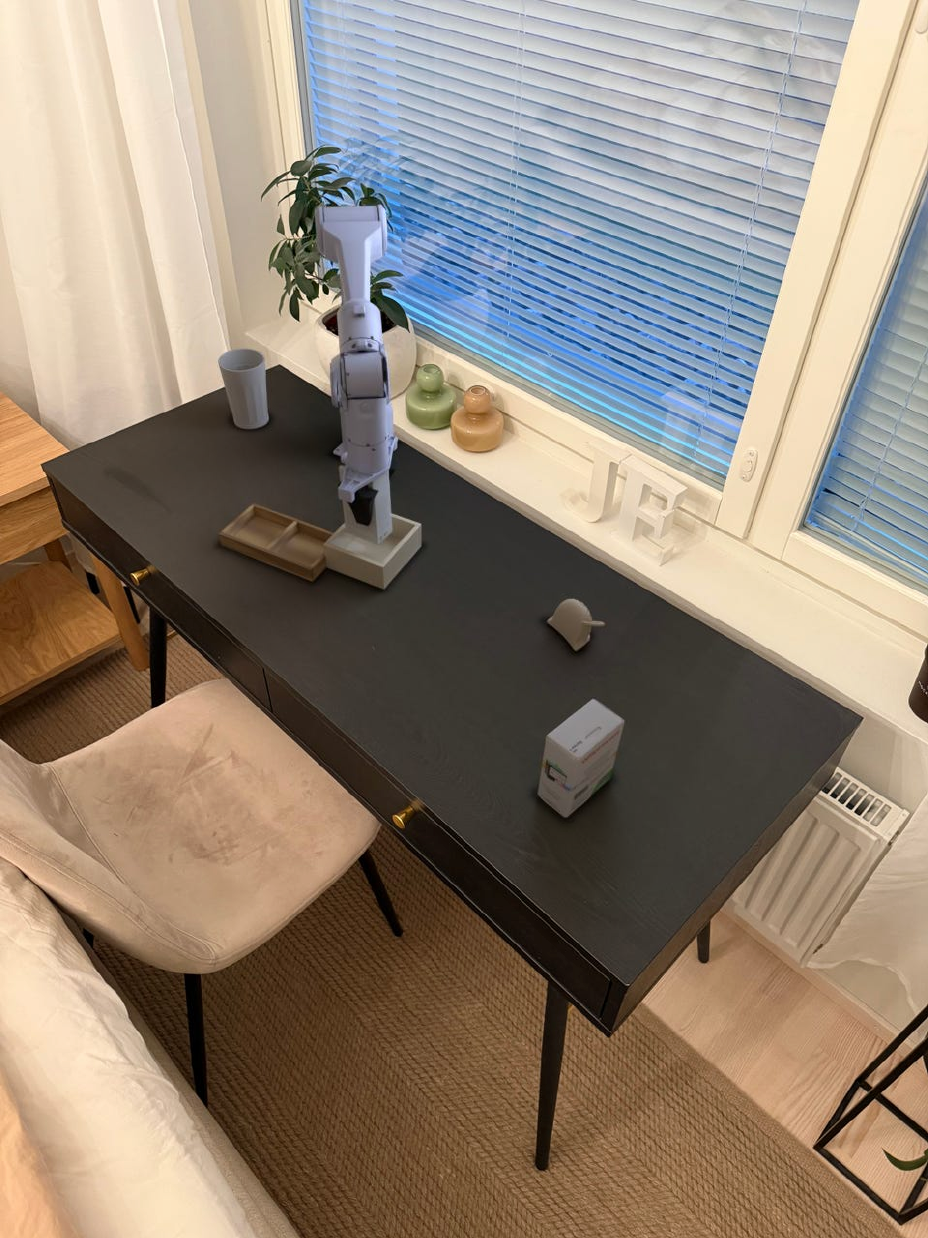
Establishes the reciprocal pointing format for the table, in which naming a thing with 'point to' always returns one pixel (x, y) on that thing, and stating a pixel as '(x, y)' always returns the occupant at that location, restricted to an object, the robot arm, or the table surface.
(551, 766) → the ink box
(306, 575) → the tray
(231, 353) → the cup
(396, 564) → the basin
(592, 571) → the table surface
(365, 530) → the cosmetic box
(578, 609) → the decorative ornament
